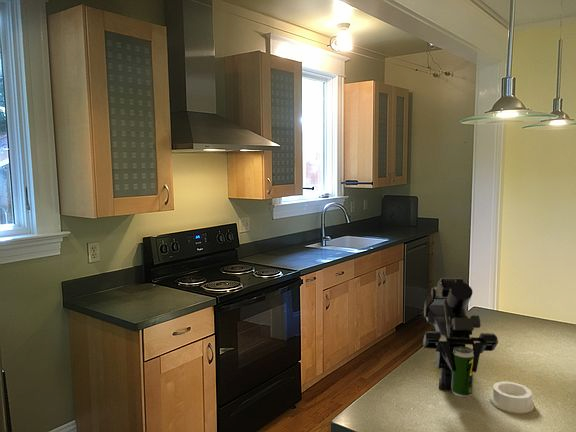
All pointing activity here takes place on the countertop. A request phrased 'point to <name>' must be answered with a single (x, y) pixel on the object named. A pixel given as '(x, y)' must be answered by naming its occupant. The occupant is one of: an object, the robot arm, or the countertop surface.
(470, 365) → the beer can
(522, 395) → the can holder
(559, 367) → the countertop surface
